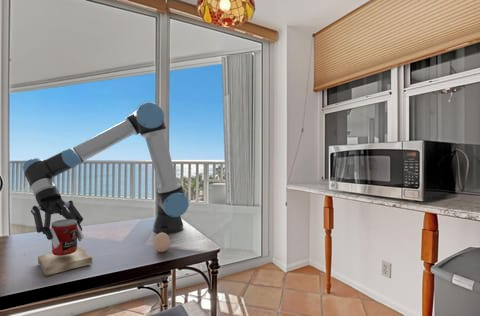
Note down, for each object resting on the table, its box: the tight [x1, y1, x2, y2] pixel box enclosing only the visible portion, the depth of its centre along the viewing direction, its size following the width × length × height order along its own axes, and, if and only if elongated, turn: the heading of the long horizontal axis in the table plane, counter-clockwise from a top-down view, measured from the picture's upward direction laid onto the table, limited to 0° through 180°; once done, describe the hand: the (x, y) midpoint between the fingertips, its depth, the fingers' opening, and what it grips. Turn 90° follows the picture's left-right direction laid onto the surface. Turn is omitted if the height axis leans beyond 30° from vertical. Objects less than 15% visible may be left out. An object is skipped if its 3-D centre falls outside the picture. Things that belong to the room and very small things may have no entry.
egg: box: [153, 232, 171, 253], centre depth 114 cm, size 7×7×8 cm
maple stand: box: [37, 246, 93, 277], centre depth 100 cm, size 14×14×3 cm
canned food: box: [51, 218, 78, 256], centre depth 100 cm, size 8×8×11 cm
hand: (69, 242), depth 98 cm, fingers closed on canned food, 8 cm apart
